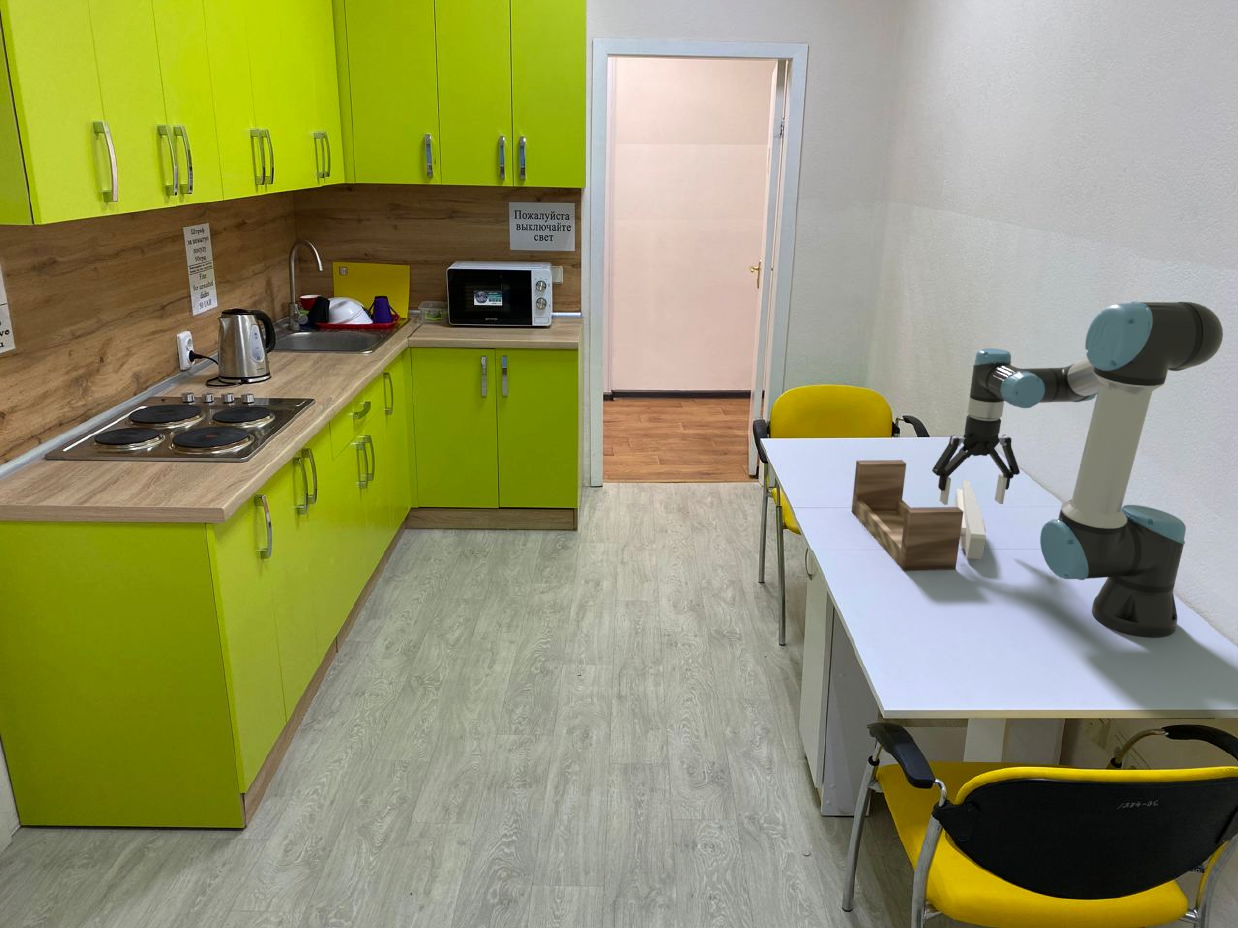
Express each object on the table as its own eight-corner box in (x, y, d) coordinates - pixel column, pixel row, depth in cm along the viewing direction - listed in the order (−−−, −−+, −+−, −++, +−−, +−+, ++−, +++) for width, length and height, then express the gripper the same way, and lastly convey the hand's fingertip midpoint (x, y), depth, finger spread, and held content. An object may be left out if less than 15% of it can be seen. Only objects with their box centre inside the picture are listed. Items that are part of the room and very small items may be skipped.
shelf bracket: (969, 524, 242) (977, 481, 236) (982, 582, 221) (991, 537, 215) (947, 522, 243) (954, 479, 237) (957, 580, 222) (966, 535, 216)
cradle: (955, 569, 215) (963, 511, 210) (903, 570, 214) (910, 512, 209) (896, 510, 250) (901, 460, 245) (851, 511, 249) (856, 460, 244)
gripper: (1028, 411, 224) (1014, 495, 231) (925, 412, 222) (914, 497, 229) (1044, 420, 217) (1029, 507, 224) (938, 421, 215) (926, 508, 222)
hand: (971, 502), depth 226 cm, fingers open, 13 cm apart
